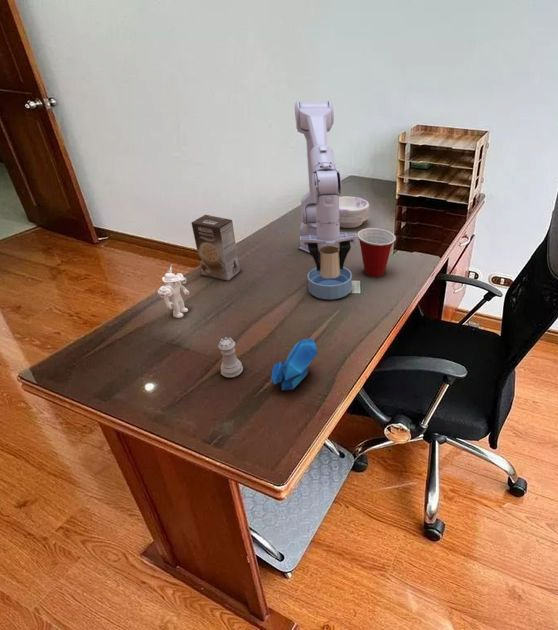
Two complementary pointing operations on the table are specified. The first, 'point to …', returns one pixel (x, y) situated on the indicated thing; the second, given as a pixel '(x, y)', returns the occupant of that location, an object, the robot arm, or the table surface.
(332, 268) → the cup
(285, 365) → the crystal
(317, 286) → the bowl
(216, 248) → the coffee box
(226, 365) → the rook chess piece
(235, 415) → the table surface
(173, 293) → the flower shoulder figurine
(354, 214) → the paper bowls
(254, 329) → the table surface
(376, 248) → the plastic cup
